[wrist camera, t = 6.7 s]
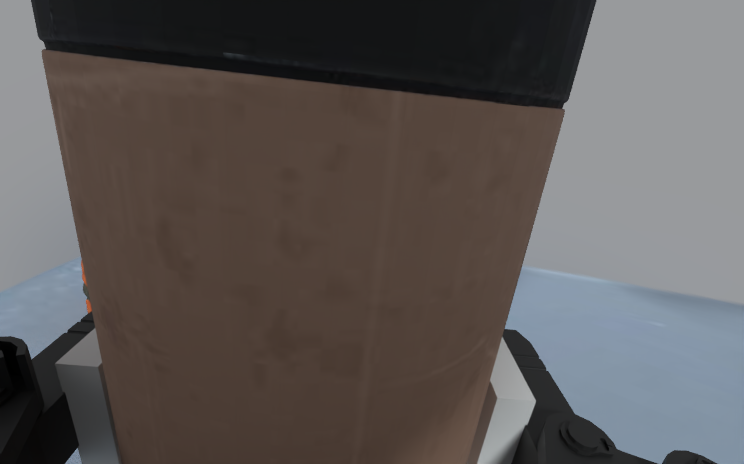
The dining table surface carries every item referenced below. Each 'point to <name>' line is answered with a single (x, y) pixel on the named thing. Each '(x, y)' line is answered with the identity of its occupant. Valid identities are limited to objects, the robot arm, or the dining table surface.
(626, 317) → the dining table surface
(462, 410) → the travel mug
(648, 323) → the dining table surface
